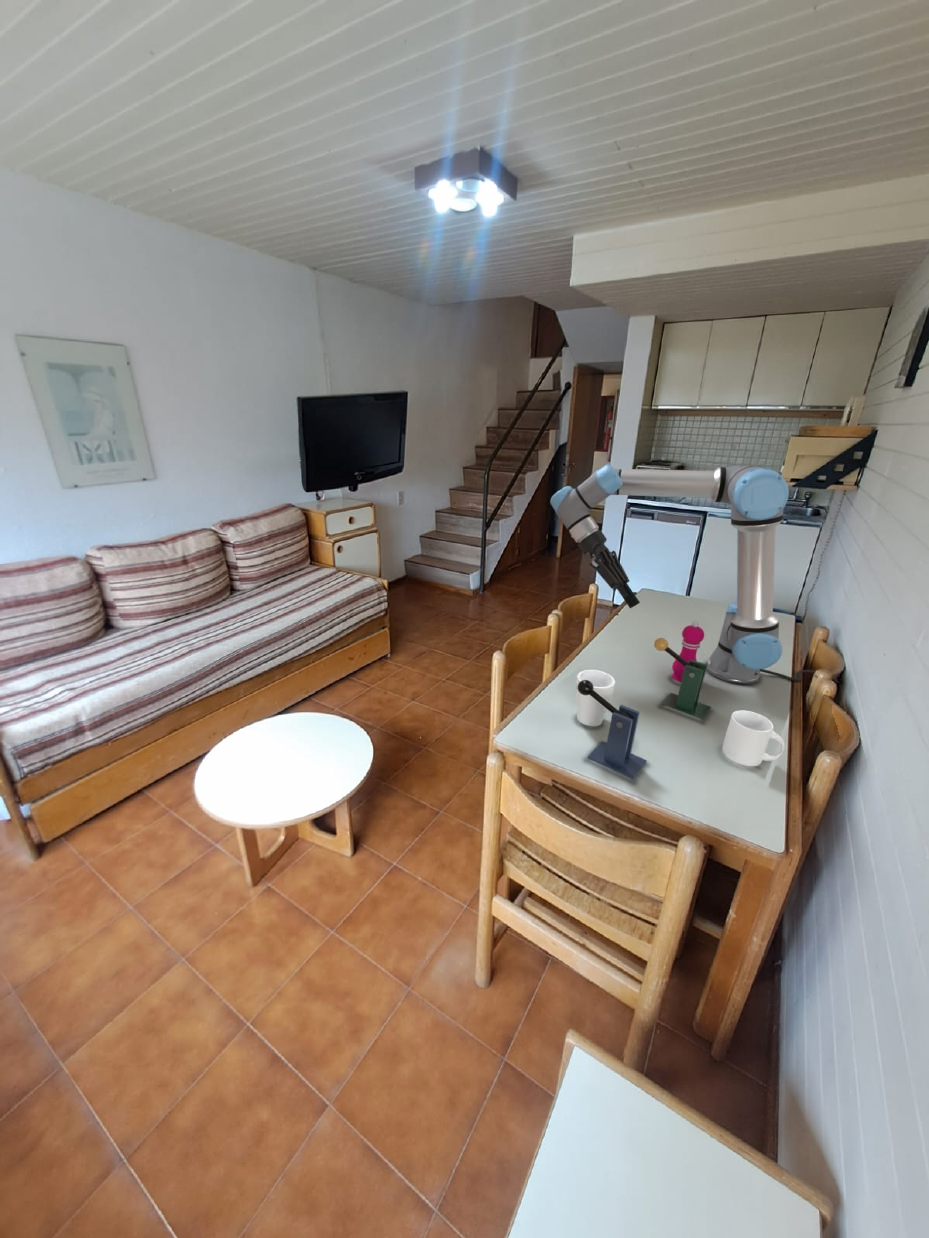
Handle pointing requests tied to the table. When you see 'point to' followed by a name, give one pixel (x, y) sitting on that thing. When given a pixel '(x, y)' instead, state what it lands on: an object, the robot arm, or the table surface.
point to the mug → (749, 738)
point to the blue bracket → (620, 745)
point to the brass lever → (671, 651)
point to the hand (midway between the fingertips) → (635, 605)
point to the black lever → (598, 697)
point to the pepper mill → (688, 648)
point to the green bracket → (690, 692)
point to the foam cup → (587, 706)
